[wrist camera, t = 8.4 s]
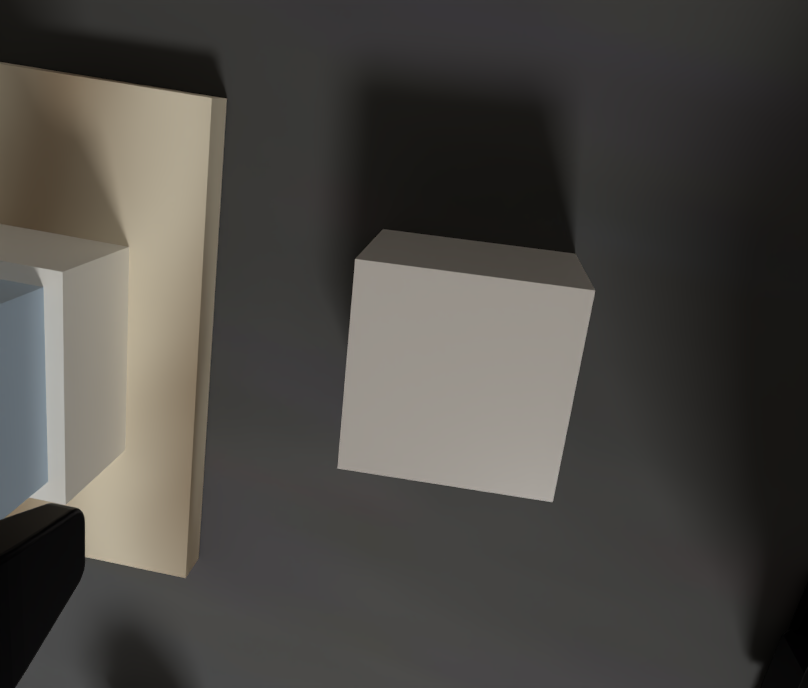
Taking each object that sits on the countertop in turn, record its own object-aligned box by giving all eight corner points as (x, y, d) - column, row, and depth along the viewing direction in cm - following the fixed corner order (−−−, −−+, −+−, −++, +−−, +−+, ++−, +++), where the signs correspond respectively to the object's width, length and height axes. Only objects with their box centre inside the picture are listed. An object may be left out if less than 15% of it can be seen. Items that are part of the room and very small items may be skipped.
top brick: (574, 252, 18) (595, 290, 14) (542, 427, 20) (552, 502, 16) (383, 228, 19) (355, 258, 15) (367, 401, 20) (337, 468, 16)
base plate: (226, 98, 18) (211, 98, 17) (198, 558, 23) (185, 578, 22) (-140, 39, 19) (-174, 35, 18) (-94, 497, 23) (-119, 513, 22)
